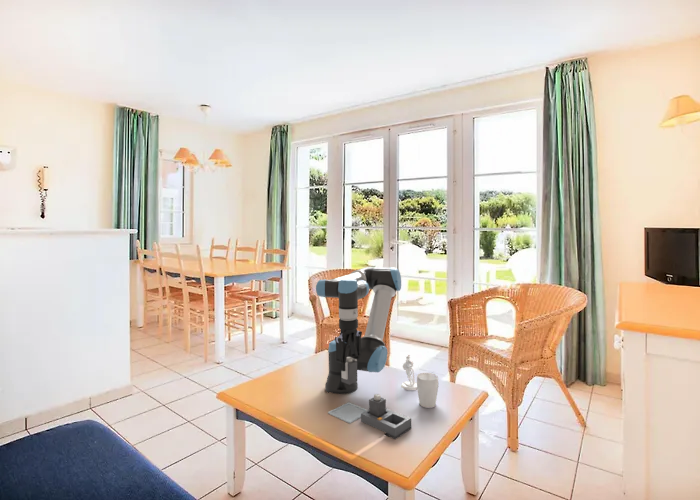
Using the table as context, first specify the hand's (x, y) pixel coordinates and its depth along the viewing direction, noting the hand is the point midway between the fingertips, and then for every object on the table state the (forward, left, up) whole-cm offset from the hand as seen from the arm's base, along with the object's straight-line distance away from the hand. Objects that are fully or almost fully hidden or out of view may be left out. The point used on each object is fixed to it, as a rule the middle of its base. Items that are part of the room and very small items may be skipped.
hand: (349, 376), depth 149 cm
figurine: (+2, +40, -16) cm, 43 cm away
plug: (0, 0, -2) cm, 2 cm away
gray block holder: (+16, +3, -16) cm, 23 cm away
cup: (+18, +29, -16) cm, 37 cm away
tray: (0, 0, -16) cm, 16 cm away
